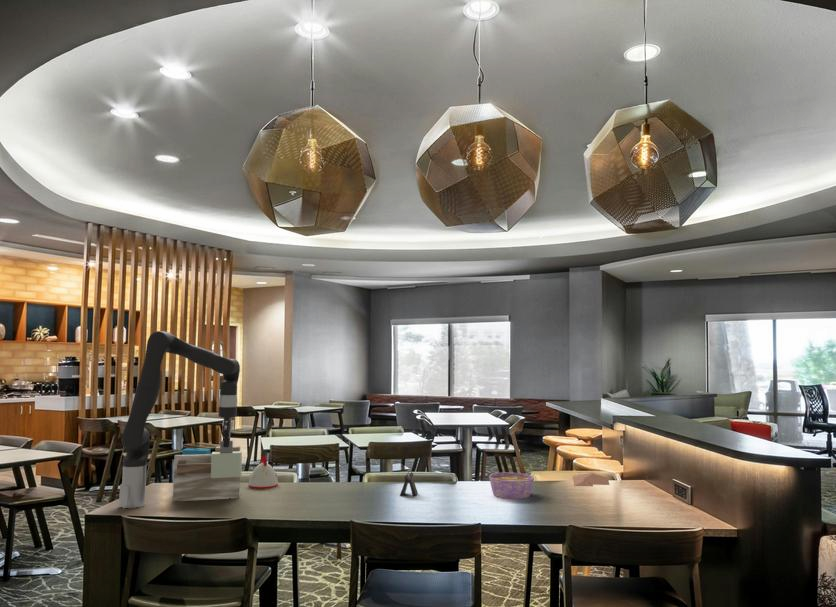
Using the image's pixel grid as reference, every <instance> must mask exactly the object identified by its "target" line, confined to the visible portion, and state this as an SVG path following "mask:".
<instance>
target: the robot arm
mask: <svg viewBox="0 0 836 607" xmlns="http://www.w3.org/2000/svg"><path fill="white" fill-rule="evenodd" d="M165 353H167V354H174V355H177V356H180V357H182V358H186V360H189V361H191V362H192V363H195V364H196V365H199V366H202V367H204V368H207V369H211V370H213V371H214V372H216V373H219V374H220V375H223V379H222V380H221V383H220V386H219V398H218V415H217V416H218V417H219V418H223V421H221V422H222V423H221V425H222V428H221V429H222V438H223V441H224V443H223V447H229V441H231V440H230V438H231V435H232V431H233V430H232V426H233V420H232V418H236V417H238V382H239V377H240V372H241V366H240V362H239V361H238V360H237V359H235V358H228V357H223V356H221V355H219V354H218V353H216V352H213V351H211V350H209V349H206V348H203V347H200V346H198V345H197V346H196V345H193V344H191V343H188V342H186V341H184V340H182V339H180V338H179V337H177V336H175V335H173V334H172V333H171V332H169V331H161V330H157V331H154V332H152V333H151V334H150V335H149V337H148V339H147V342H146V350H145V355H144V362H143V364H142V369H141V371H140V375H139V379H138V382H137V385H136V389H135V393H134V398H133V400H132V403H131V409H130V412H129V416H128V419H127V421H126V425H125V427H124V428H123V429H124V430H123V432H122V435H121V438H120V439H121V444H122V445H121V446H122V447H123V449H125V450H126V454H125V456H124V458H123V460H122V477H121V479H122V481H121V484H119V496H118V497H119V498H118V500H119V502H118V507H119V506H120V507H124V508H131V509H137V508H136V507H139V508H142V506H143V507H145V506H144V505H146V486H147V485H146V483H147V463H148V459H149V454H150V444H151V443H150V442H151V441H150V440H151V439H150V438H151V437H150V432H149V430H148V429H147V428H146V424H147V420H148V417H149V415H150V414H151V411H152V410H153V409H154V407H155V404H156V403H157V400H158V397H159V394H160V389H161V386H162V372H161V371H162V370H161V368H162V362H163V359H164V355H165ZM120 507H119V508H120ZM124 508H123V509H124Z"/></svg>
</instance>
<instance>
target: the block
mask: <svg viewBox="0 0 836 607" xmlns="http://www.w3.org/2000/svg"><path fill="white" fill-rule="evenodd" d="M181 453H182V454H181V455H202V454H211V448H184V449H182V451H181Z"/></svg>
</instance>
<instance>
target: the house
mask: <svg viewBox="0 0 836 607" xmlns="http://www.w3.org/2000/svg"><path fill="white" fill-rule="evenodd" d="M572 481H573V482H572V483H573V486H574V487H594V486H610V480H609V477H606V476H603V475H601V474H596V473H594V472H590V473H585V474H579V475H574V476H572Z"/></svg>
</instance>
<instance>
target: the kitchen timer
mask: <svg viewBox="0 0 836 607" xmlns="http://www.w3.org/2000/svg"><path fill="white" fill-rule="evenodd" d="M278 479H279V478H278V472H276V471H275V468H273V466H272V465H270V464H269V463H268V460H267V457H266V455H262V457H261V459H260V463H259V464H258V465H256V467H255V468H254V469H253V470H252V472H251V473H250V475H249V479H248V480H249V481H248V488H249V487H250V488H249V489H253V488H256V489H255V490H262V489H263V490H264V488H266V489H273V488H276V487H278V486H279V481H278Z"/></svg>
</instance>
